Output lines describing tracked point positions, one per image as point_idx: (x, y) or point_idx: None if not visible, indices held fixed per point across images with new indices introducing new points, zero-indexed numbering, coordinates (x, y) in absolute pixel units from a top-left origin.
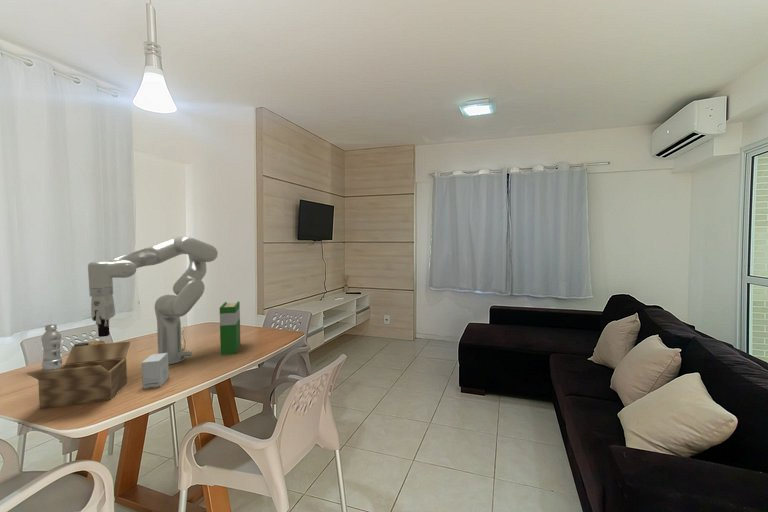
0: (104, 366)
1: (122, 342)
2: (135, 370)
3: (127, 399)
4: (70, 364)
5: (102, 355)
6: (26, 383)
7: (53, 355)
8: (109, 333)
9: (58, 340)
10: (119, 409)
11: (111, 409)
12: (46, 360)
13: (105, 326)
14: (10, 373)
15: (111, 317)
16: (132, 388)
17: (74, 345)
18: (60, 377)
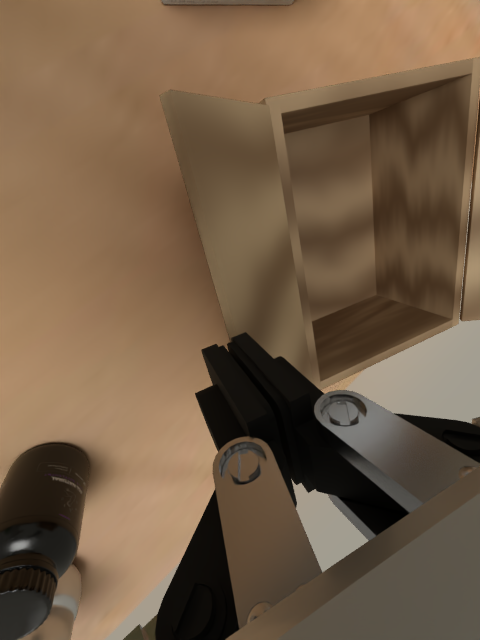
0: None
1: (194, 175)
2: (22, 206)
3: (383, 28)
4: (317, 365)
5: (279, 265)
6: (189, 509)
7: (52, 634)
8: (205, 354)
9: None
10: (451, 16)
11: (441, 51)
12: (73, 618)
13: (351, 393)
14: (99, 637)
15: (370, 557)
16: (281, 68)
17: (47, 616)
18: (473, 257)
